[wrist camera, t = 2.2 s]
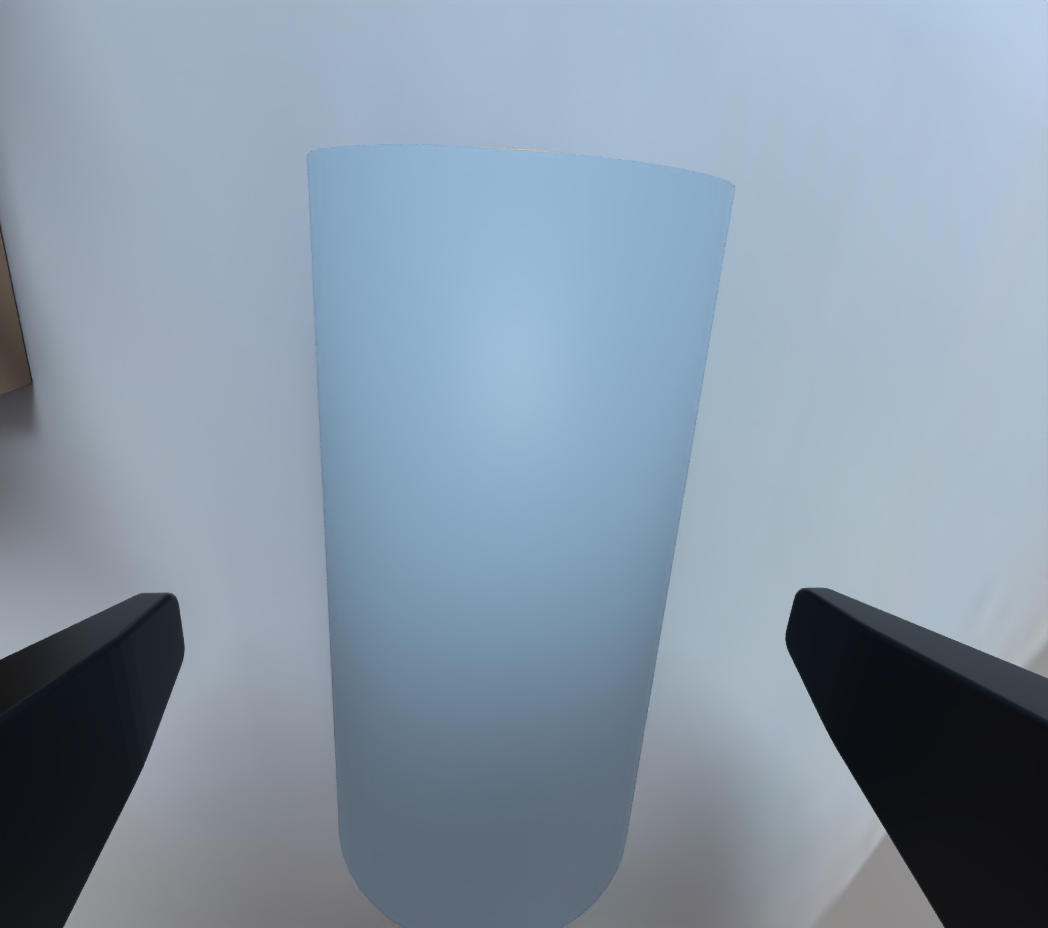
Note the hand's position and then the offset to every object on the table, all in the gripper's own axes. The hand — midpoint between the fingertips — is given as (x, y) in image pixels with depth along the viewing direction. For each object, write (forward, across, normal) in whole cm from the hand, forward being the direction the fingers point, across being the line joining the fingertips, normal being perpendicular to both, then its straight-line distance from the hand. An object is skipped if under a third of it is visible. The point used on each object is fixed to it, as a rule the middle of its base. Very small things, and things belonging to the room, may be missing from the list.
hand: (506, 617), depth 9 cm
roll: (+2, 0, 0) cm, 2 cm away
